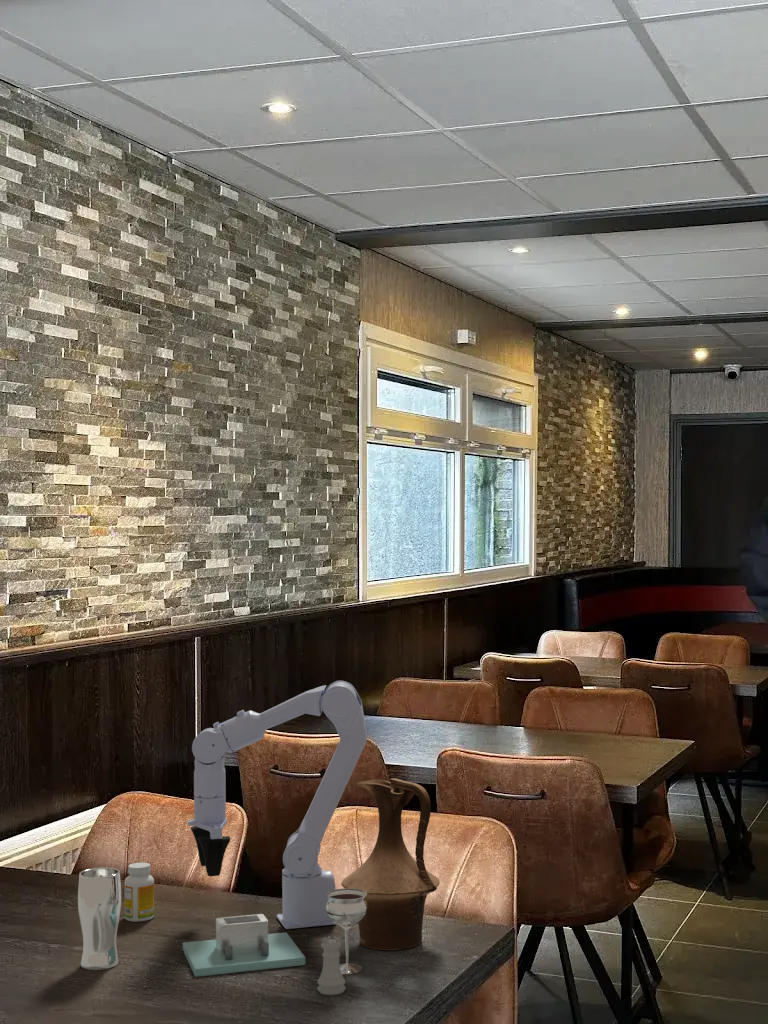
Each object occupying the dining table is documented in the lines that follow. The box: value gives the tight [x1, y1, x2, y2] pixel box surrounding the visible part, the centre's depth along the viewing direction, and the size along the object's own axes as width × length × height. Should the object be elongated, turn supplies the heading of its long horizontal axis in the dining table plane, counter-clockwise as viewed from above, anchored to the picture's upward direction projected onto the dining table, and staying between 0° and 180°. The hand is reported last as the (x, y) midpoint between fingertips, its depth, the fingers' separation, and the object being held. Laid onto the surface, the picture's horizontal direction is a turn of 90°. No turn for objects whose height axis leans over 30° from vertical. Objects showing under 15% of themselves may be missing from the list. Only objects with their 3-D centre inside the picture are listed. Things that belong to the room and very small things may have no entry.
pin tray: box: [182, 932, 306, 978], centre depth 209 cm, size 18×14×3 cm
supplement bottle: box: [124, 862, 155, 923], centre depth 232 cm, size 5×5×10 cm
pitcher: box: [340, 777, 440, 951], centre depth 217 cm, size 18×17×28 cm
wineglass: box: [326, 888, 368, 975], centre depth 203 cm, size 7×7×12 cm
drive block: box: [215, 913, 269, 957], centre depth 209 cm, size 8×4×5 cm, turn 107°
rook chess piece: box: [316, 935, 347, 997], centre depth 193 cm, size 4×4×8 cm
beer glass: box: [77, 866, 122, 971], centre depth 206 cm, size 7×7×15 cm
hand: (210, 870), depth 229 cm, fingers open, 7 cm apart
